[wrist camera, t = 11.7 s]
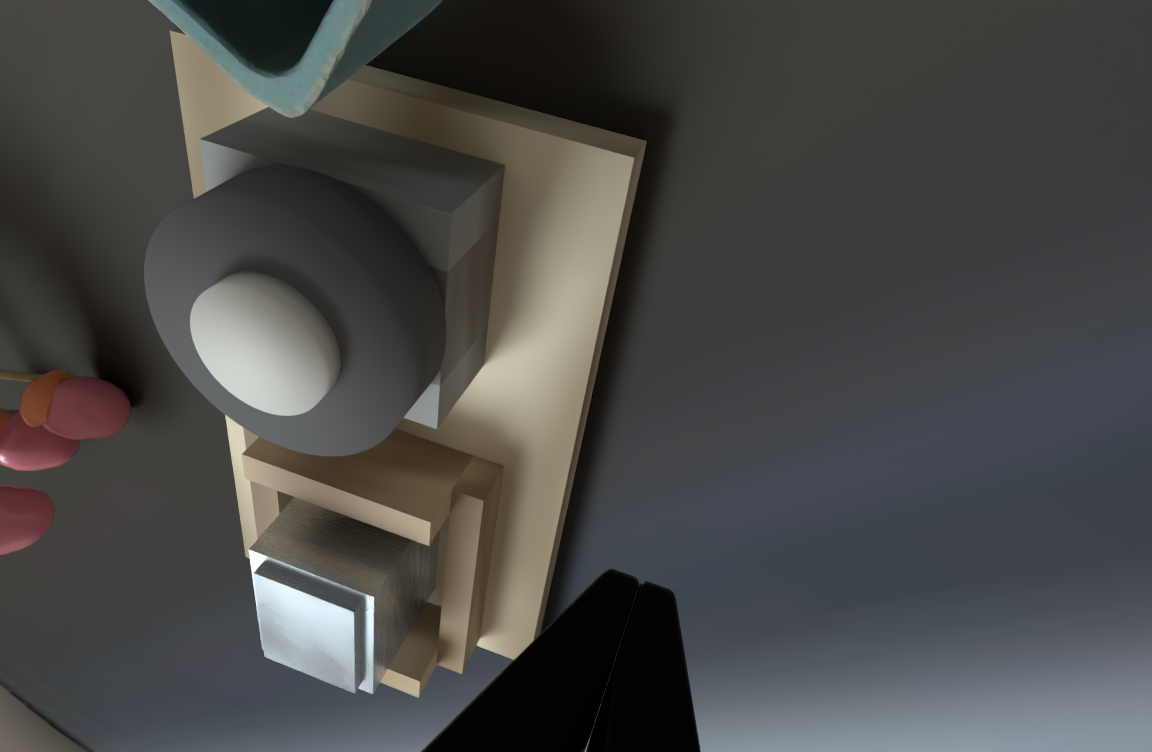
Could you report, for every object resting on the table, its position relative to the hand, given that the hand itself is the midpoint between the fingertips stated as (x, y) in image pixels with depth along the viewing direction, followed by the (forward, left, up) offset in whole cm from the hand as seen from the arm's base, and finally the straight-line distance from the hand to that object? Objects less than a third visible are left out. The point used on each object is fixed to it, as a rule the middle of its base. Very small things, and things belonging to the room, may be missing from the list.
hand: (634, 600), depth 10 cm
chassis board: (+9, +9, -12) cm, 17 cm away
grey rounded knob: (+9, +3, -10) cm, 14 cm away
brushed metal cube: (+9, +14, -11) cm, 20 cm away
